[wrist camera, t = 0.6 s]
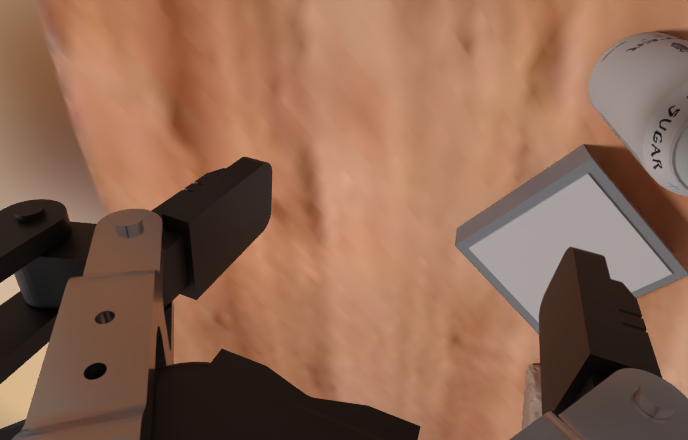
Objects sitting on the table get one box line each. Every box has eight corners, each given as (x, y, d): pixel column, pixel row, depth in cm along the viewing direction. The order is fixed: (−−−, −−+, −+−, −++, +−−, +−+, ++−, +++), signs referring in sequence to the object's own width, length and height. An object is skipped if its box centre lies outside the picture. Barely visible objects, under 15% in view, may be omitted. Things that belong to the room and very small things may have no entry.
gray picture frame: (583, 144, 33) (592, 159, 30) (674, 253, 35) (689, 276, 32) (456, 228, 39) (454, 246, 37) (539, 317, 41) (543, 340, 38)
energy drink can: (707, 43, 28) (889, 96, 16) (654, 130, 31) (769, 233, 19) (612, 20, 29) (711, 52, 16) (569, 107, 32) (625, 191, 20)
